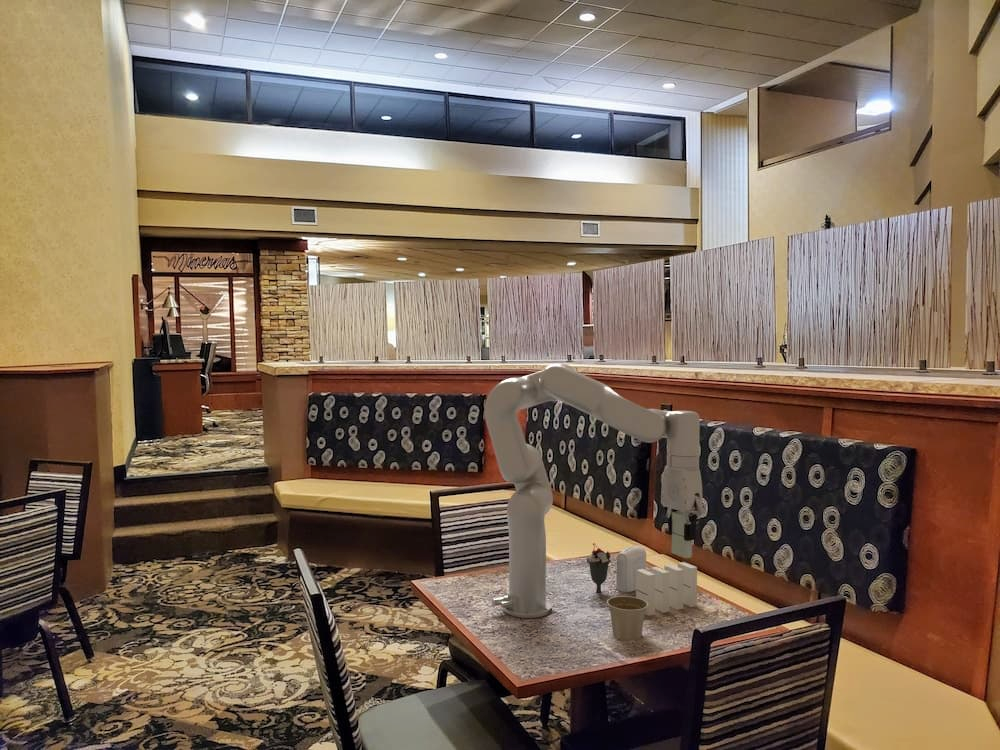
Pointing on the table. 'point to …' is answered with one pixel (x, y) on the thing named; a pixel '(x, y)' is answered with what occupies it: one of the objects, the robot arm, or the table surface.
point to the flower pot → (627, 616)
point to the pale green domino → (680, 536)
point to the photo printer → (629, 567)
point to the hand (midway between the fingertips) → (681, 536)
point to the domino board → (672, 611)
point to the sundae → (599, 567)
